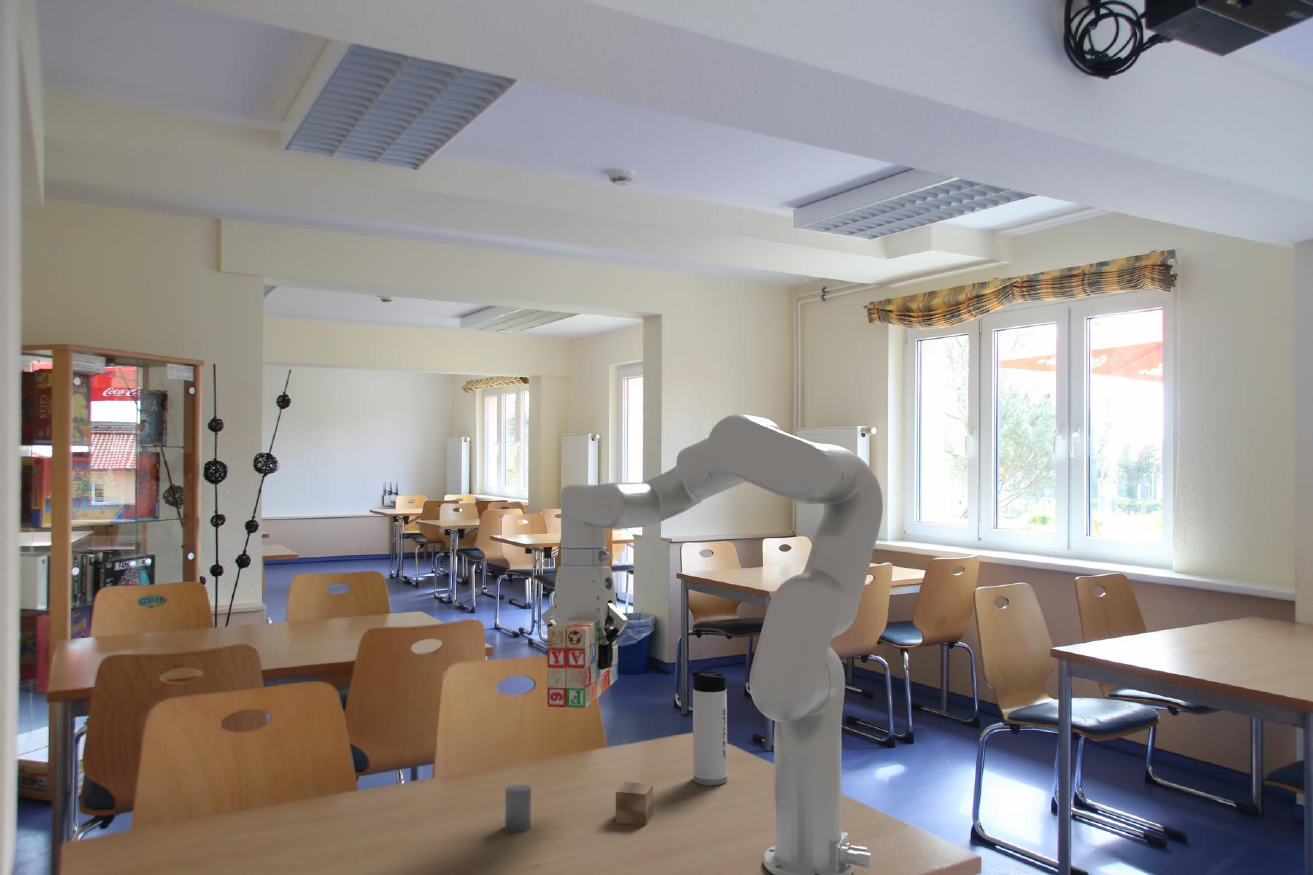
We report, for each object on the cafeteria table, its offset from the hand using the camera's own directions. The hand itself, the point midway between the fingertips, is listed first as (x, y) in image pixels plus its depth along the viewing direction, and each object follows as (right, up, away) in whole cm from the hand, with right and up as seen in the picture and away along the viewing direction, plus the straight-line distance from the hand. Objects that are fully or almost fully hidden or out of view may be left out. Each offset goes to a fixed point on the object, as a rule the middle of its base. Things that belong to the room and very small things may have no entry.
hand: (584, 665), depth 148 cm
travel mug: (+22, -26, +17) cm, 38 cm away
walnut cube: (+8, -24, -2) cm, 26 cm away
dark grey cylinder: (-10, -24, -6) cm, 27 cm away
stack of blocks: (0, -5, 0) cm, 5 cm away
